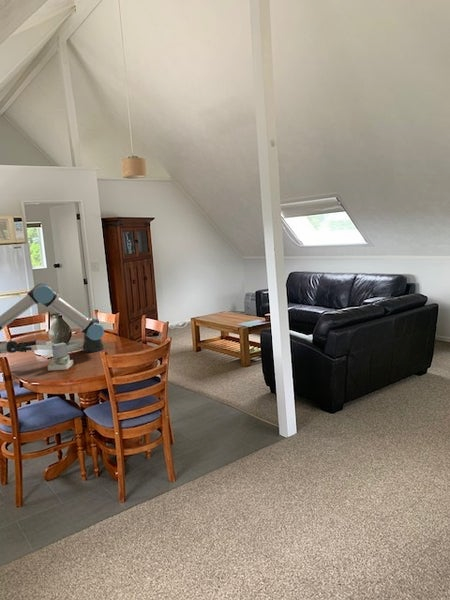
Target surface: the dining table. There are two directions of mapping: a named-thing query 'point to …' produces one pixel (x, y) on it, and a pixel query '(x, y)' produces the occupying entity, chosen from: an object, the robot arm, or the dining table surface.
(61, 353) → the medicine box
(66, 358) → the tower top slab
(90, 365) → the dining table surface
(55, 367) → the tower base slab
